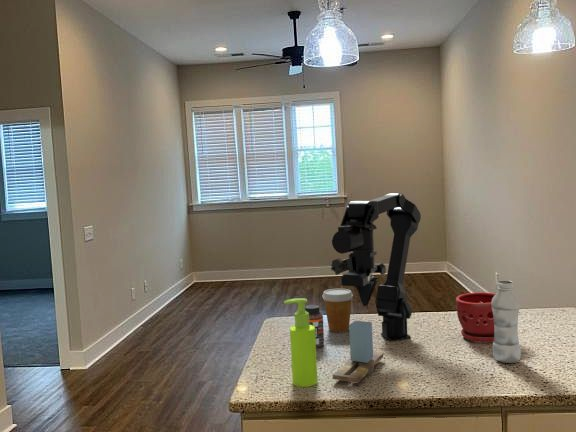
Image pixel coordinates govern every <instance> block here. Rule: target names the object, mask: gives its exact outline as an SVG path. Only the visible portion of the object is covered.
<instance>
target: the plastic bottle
mask: <svg viewBox="0 0 576 432" xmlns="http://www.w3.org/2000/svg"><path fill="white" fill-rule="evenodd" d="M496 290H497V292H496V293H494V294H495V295H494V297H493V298H492V301H491V305H492V311H493V317H494V328H495V330H494V342H492V356H493V358H494V359H495V360H496V361H498V362H501V363H506V364H514V363H515V364H516V363H517V362H519V361H520V359H521V356H522V349H521V344H520V342H519V341H520V340H519V339H520V338H519V331H518V329H519V327H518V326H519V325H518V324H519V313H520V305H521V304H520V301H519V299H518V298H517V296H516V294H515V293H514V292H513V291H514V281H511V280H498V281H497V282H496Z"/></svg>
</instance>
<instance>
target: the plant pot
mask: <svg viewBox="0 0 576 432" xmlns="http://www.w3.org/2000/svg"><path fill="white" fill-rule="evenodd" d="M495 294H496V293H494V292H493V293H492V292H468V293H463V294H460V295H457V296H456V297H455V307H456V312H457V318H458V321H459V325H460V326H461V328H462V329H461V331H460V333H461V335H462V336H463V338H465V339H466V340H467V341H470V342H475V343H480V344H487V343H488V344H489V343H493V342H494V330H495V328H494V317H493V311H492V305H491V301H492V298H493V297H494V295H495Z"/></svg>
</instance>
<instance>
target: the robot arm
mask: <svg viewBox="0 0 576 432" xmlns="http://www.w3.org/2000/svg"><path fill="white" fill-rule="evenodd" d="M383 213H386V215H387V217H388V218H389V220H390V223H389V225H390V227H391V230H392V232H393V238H392V244H391V250H390V255H389V260H388V261H389V262H388V267H386V266H385V264H384V263H382V262H375V256H376V255H377V250H375V244H374V243H375V242H374V241H375V240H374V230H377V226H376V224H374V222H375V221H376V220H378V219H379V215H380V214H383ZM421 216H422V215H421V212H420V210H419V209H418V207H417V205H416V204H415V203H413V202H412V201H410V200H409V199H407V198H406V197H405V195H404V194H402V193H399V192H398V193H394V192H393V193H388V194H385V195H383V196H380V197H377V198H373V199H370V200H353V201H352V200H351V201H349V202H348V204H347V206H346V208H345V211H344V215H343V216H342V219H341V223H340V226H338V227H337V229H338V230H337V231H336V232H334V234H333V236H332V239H331V243H332V244H331V245H332V248H333V250H335V251H336V253H339V254H341V255H342V254H347V253H349V254H348V258H345V259H342V260H341V258H339V257H338V258H336V259H333V260H331V264H330V266H331V268H330V270H331V271H332V272H334V273H335V276H337V275H340V274H341V273H343V274H342V275H341V277H340V278H339V281H340V286H343V287H345V286H347V287H355V288H356V290H357V293H358V295H359V298H360V301H361V304H362V306H363V307H367V306H368V305H369V302H370V300H371V298H372V295H373V293H374V290H375V288H376V285H377V284H378V281H379V277H375V275H373V274H375V273H376V274H377V273H379V274H380V275H381V276H382V275H385V274H386V278H385V281H384V283H383V284H379V285H378V286H377V291H376V292H377V293H376V296H375V300H374V301H375V307H376V312H377V315H378V317H382V321H381V333H380V336H381V337H383V338H386V339H387V340H389V341H392V342H393V341H398V340H404V339H408V338H411V335H410V334H408V319H411V317H412V314H413V308H412V306H411V304H409V302H408V301H407V297H408V296H407V295H408V294H407V291H406V289H405V288H404V279H405V273H406V272H405V271H406V267H407V261H408V255H409V248H410V244H411V243H410V242H411V238H412V237H413V235H414V234H415V233H416V231H418V227H419V224H420V221H421V218H422V217H421ZM386 268H388V269H386ZM344 272H346V273H344Z"/></svg>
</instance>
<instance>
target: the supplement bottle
mask: <svg viewBox="0 0 576 432" xmlns="http://www.w3.org/2000/svg"><path fill="white" fill-rule="evenodd" d="M305 311H307V312H308V313H309V325H312V326H314V327H315V340H316V349H317V348H321V347H323V346H324V344H325V333H324V316H323V315H324V314H322V313H321V312H320V306H319V305H316V304H310V305H309V304H308V305H305Z"/></svg>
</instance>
